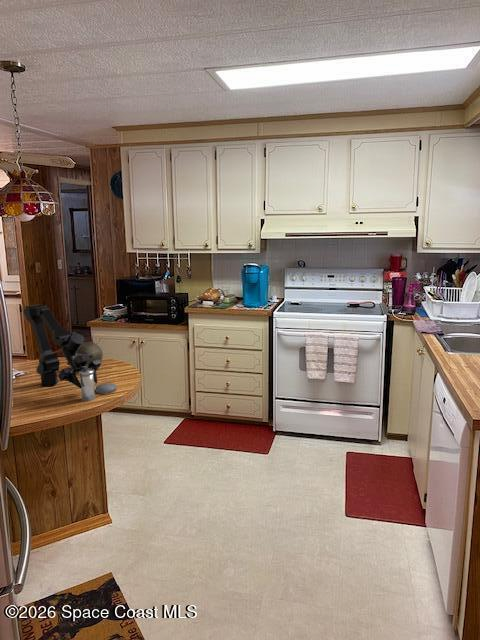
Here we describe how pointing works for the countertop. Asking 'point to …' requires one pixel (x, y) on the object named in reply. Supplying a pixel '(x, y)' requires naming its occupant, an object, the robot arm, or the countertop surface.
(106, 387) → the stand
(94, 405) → the countertop surface
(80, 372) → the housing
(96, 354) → the grey round ball
